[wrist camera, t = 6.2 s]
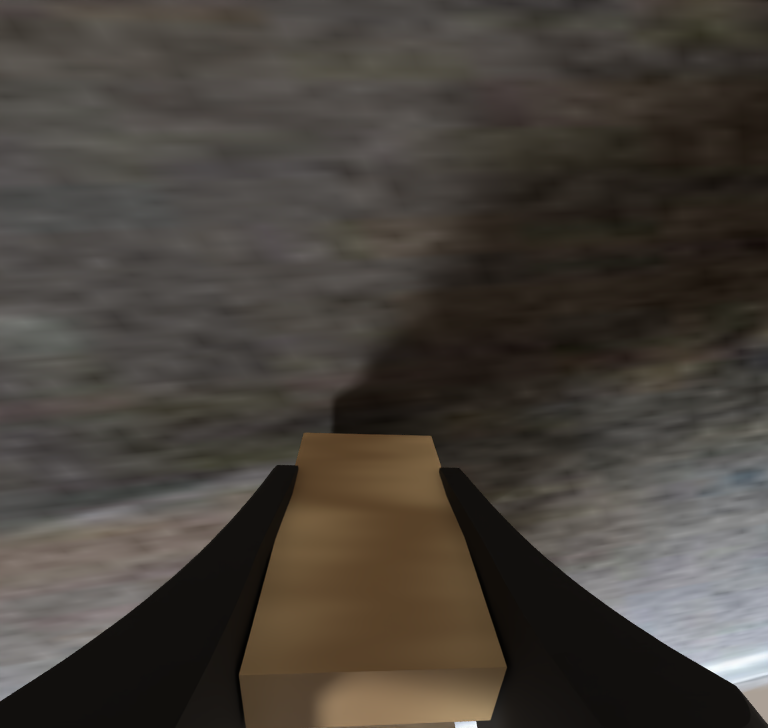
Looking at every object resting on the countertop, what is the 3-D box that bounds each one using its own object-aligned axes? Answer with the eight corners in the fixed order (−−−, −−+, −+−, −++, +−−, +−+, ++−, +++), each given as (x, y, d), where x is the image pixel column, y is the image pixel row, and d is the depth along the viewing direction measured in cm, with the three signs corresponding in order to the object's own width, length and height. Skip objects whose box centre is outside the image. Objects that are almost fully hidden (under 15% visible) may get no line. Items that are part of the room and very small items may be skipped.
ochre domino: (304, 471, 13) (245, 731, 6) (303, 432, 12) (238, 675, 6) (426, 472, 13) (490, 720, 7) (431, 435, 12) (506, 667, 6)
